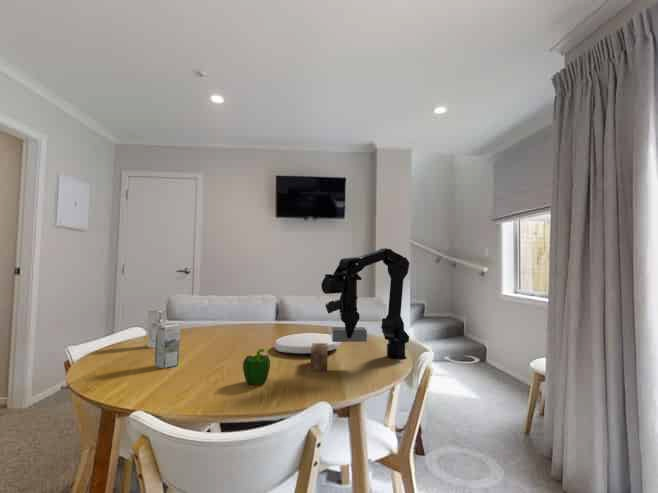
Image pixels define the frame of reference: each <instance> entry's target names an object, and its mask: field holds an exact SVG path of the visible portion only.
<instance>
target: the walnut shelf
mask: <svg viewBox="0 0 658 493" xmlns="http://www.w3.org/2000/svg"><path fill="white" fill-rule="evenodd" d="M328 352H329V351H328V343H312V348H311V353H310V372H328Z"/></svg>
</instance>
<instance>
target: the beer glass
mask: <svg viewBox="0 0 658 493" xmlns="http://www.w3.org/2000/svg"><path fill="white" fill-rule="evenodd" d="M165 312H166V310H159V309H158V310H149V311H147V318H146V326H147V334H148V341H147V346H146V347H147V348H149V349H156V329H157V325H163V324H166V315H165V314H166V313H165Z"/></svg>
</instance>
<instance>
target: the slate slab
mask: <svg viewBox="0 0 658 493" xmlns="http://www.w3.org/2000/svg"><path fill="white" fill-rule="evenodd" d="M330 329H331V330H330V332H331V333H330V335H331V339H332V342H341V343H362V342H365V343H366V342H367V340H368V339H367V336H368V334H367V333H368V332H367V329H366V328H365V327H363V326H356V327H355V329H354V332H353V334H352V336H351V338H347V332H346V327H345V326H341V327H339V326H331V328H330Z"/></svg>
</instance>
